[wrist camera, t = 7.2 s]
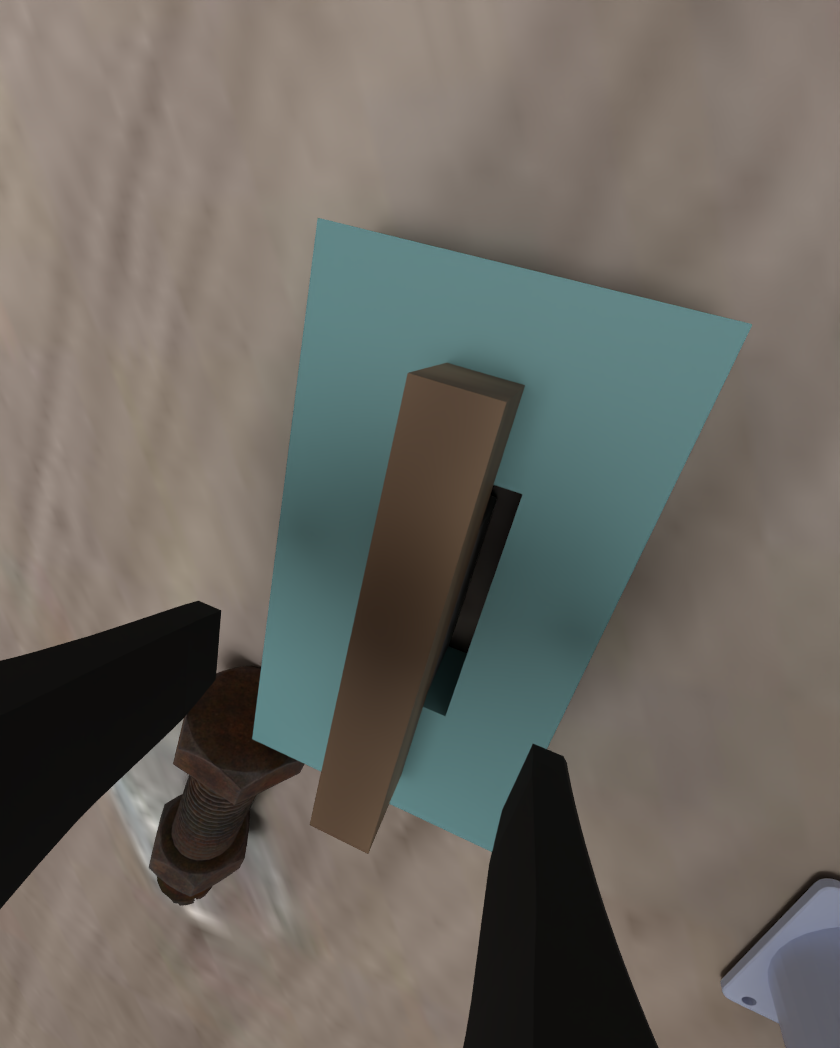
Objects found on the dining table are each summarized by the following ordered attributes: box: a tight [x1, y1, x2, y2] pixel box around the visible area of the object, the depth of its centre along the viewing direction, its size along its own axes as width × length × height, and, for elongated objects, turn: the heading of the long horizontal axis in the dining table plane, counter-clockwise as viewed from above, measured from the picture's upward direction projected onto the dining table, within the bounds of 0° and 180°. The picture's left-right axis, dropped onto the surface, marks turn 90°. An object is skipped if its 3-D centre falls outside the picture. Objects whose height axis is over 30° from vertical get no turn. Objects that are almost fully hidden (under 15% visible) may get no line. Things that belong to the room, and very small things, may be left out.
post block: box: [252, 218, 752, 852], centre depth 17 cm, size 10×18×4 cm, turn 166°
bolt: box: [149, 666, 304, 905], centre depth 25 cm, size 6×5×15 cm
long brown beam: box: [310, 363, 525, 854], centre depth 15 cm, size 2×14×6 cm, turn 166°
